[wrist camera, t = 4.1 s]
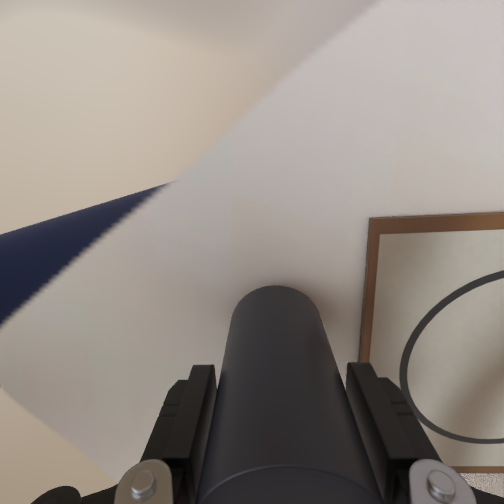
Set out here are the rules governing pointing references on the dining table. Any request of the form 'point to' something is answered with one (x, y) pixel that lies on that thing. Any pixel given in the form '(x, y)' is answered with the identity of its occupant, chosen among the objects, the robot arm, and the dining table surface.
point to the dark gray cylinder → (283, 413)
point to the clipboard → (441, 328)
